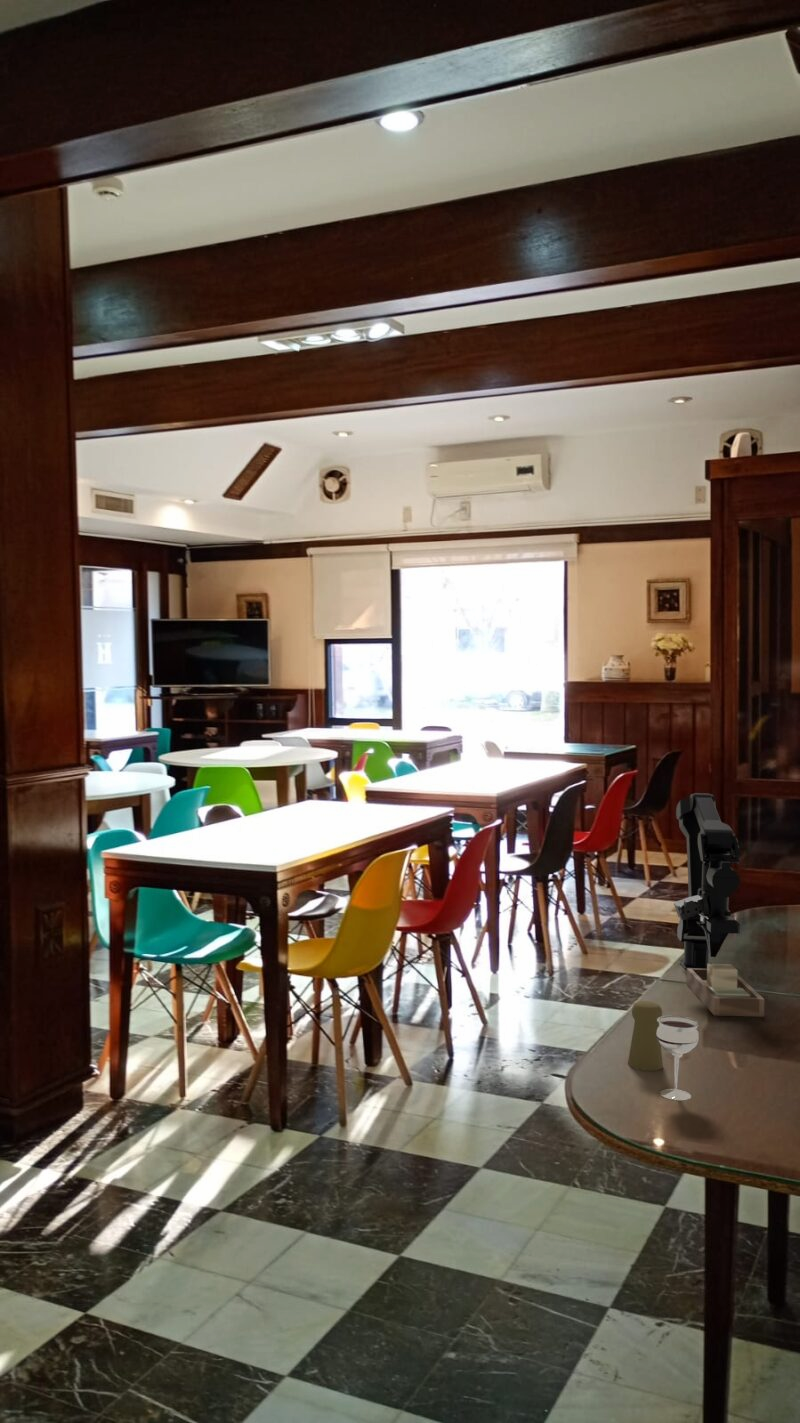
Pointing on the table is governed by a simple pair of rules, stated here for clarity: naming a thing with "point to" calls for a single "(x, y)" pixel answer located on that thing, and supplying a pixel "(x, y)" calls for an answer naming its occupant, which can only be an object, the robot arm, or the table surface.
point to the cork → (645, 1037)
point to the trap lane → (725, 996)
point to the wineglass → (677, 1045)
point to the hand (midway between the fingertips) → (712, 956)
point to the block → (722, 976)
